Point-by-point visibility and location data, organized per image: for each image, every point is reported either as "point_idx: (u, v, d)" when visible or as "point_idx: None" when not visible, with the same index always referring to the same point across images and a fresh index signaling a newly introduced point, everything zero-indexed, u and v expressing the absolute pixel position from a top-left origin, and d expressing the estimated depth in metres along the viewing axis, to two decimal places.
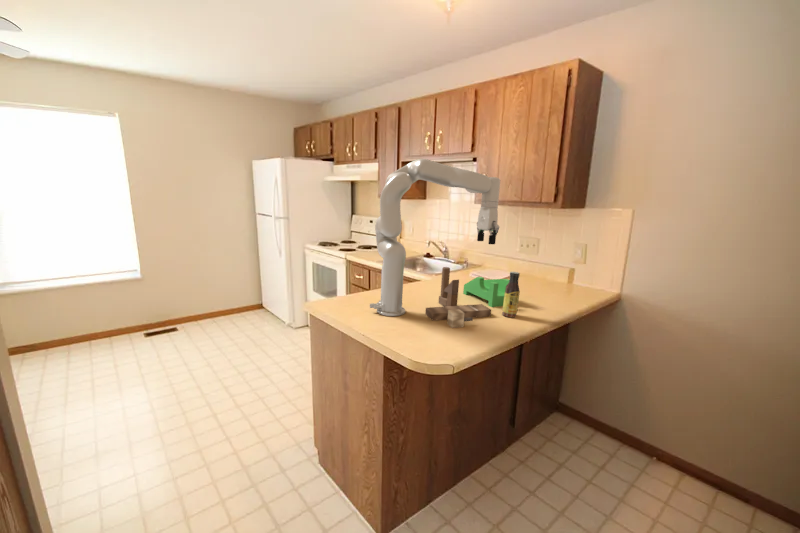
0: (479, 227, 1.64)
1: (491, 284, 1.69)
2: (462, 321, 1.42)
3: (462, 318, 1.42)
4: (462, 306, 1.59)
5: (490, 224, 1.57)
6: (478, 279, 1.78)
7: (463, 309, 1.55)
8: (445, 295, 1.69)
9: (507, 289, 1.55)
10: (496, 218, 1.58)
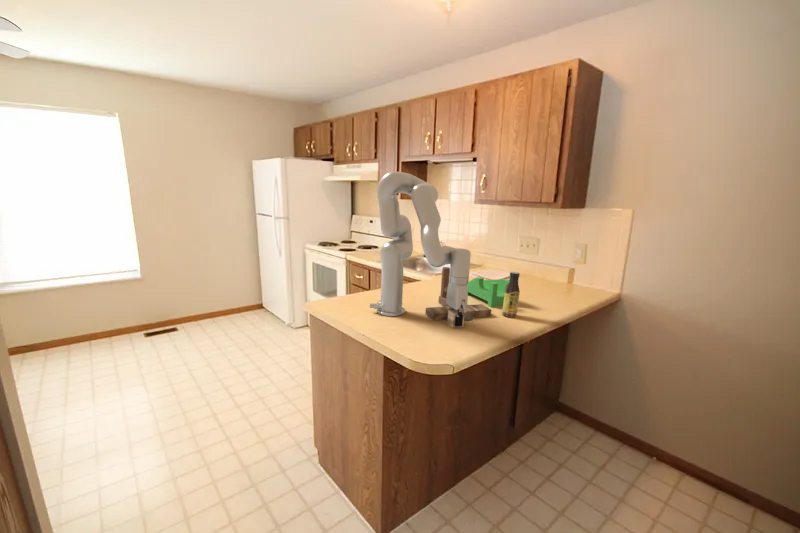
0: (448, 303, 1.43)
1: (490, 284, 1.69)
2: None
3: None
4: None
5: (459, 304, 1.37)
6: (477, 279, 1.78)
7: None
8: (445, 295, 1.69)
9: (507, 289, 1.55)
10: (466, 296, 1.37)
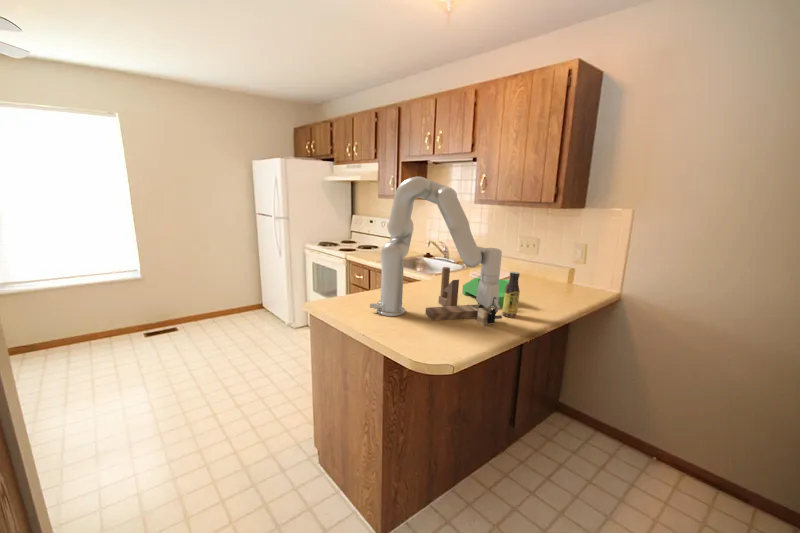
0: (478, 301, 1.48)
1: None
2: None
3: None
4: (462, 306, 1.59)
5: (490, 301, 1.41)
6: (477, 279, 1.77)
7: (463, 309, 1.55)
8: (445, 295, 1.69)
9: (507, 289, 1.55)
10: (497, 294, 1.41)
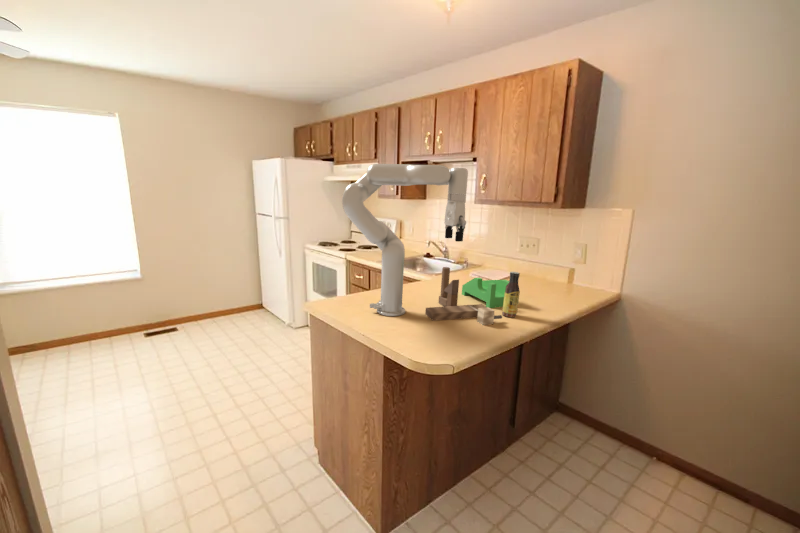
0: (446, 223, 1.50)
1: (489, 285, 1.68)
2: (492, 319, 1.46)
3: (492, 316, 1.46)
4: (462, 306, 1.59)
5: (456, 219, 1.43)
6: (476, 280, 1.77)
7: (463, 309, 1.55)
8: (445, 295, 1.69)
9: (507, 289, 1.55)
10: (463, 213, 1.44)
